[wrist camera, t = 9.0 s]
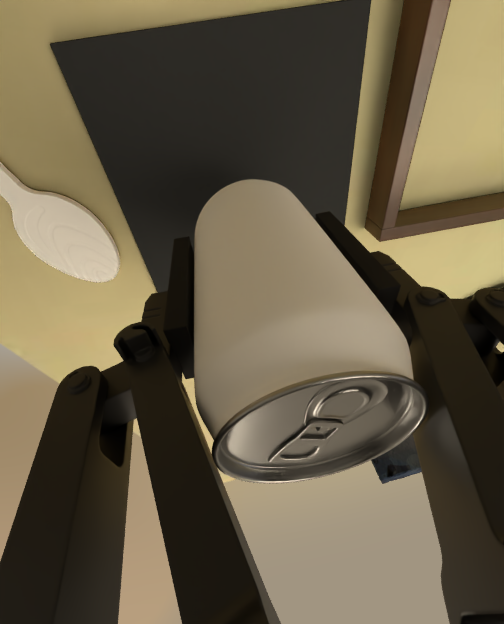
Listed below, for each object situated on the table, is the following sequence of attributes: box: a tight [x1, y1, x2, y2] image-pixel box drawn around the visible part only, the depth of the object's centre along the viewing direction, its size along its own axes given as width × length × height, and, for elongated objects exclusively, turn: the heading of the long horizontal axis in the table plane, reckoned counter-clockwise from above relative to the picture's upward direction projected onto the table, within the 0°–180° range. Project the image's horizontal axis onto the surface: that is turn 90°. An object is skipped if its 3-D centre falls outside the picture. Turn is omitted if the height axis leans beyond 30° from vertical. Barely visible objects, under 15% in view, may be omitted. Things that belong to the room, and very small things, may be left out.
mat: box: [50, 0, 371, 293], centre depth 20 cm, size 18×16×1 cm
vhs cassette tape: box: [371, 433, 422, 484], centre depth 41 cm, size 18×3×10 cm, turn 115°
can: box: [194, 179, 429, 483], centre depth 12 cm, size 6×6×12 cm
